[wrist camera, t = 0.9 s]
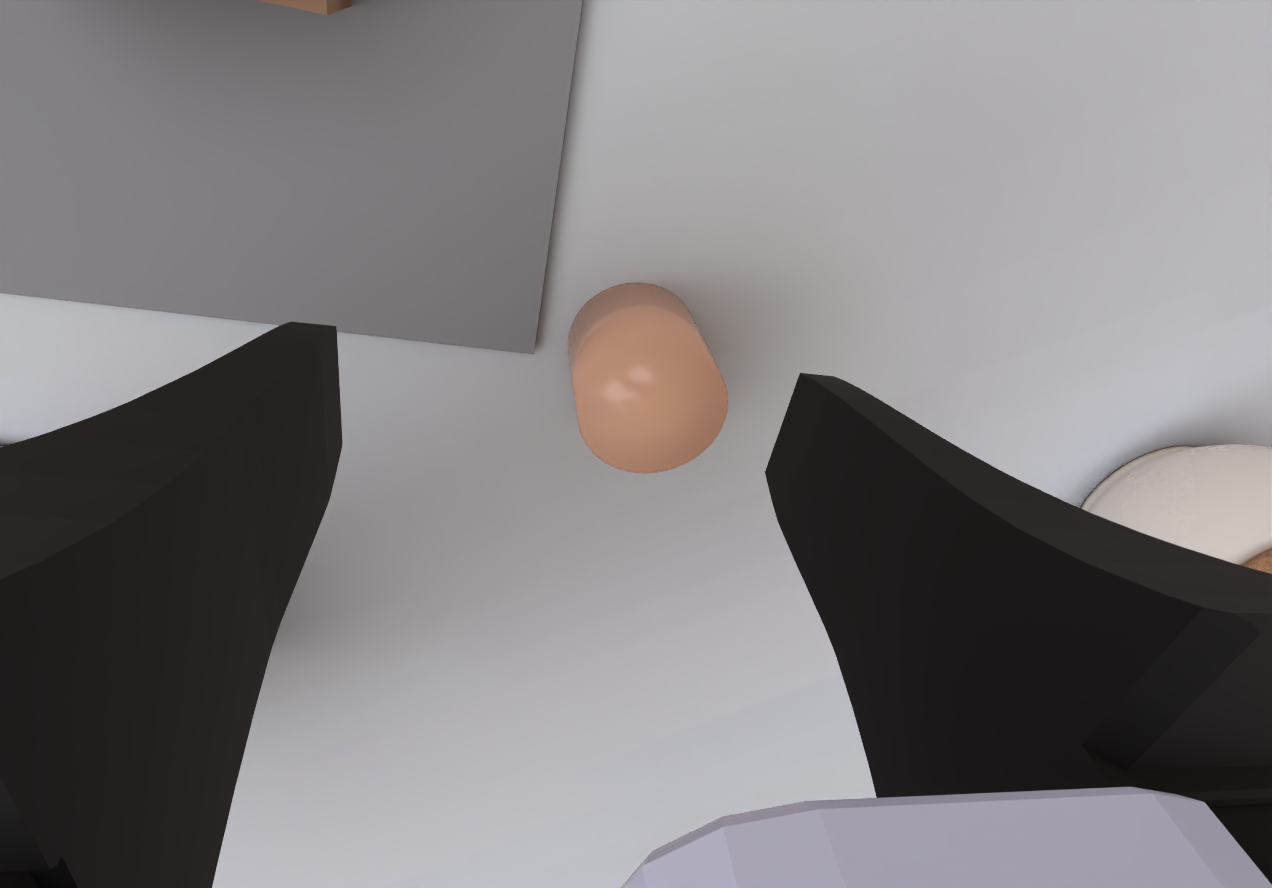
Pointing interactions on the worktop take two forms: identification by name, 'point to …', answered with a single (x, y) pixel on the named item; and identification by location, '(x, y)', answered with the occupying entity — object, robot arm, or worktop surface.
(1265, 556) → the lidded jar
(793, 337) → the worktop surface
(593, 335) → the peach rounded cylinder
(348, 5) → the walnut block lower
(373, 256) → the slate mat
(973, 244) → the worktop surface
